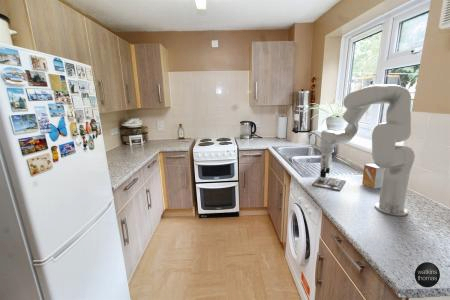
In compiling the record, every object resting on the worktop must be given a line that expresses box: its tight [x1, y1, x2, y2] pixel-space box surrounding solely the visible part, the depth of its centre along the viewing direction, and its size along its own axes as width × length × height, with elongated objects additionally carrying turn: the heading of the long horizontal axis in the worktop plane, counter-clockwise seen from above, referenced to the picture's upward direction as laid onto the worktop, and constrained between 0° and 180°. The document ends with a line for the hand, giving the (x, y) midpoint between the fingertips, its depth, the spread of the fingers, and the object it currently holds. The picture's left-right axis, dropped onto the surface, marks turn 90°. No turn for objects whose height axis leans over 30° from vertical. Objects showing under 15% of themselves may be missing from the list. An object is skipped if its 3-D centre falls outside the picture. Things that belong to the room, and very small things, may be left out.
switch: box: [330, 176, 338, 187], centre depth 131 cm, size 3×3×5 cm
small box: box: [362, 163, 385, 190], centre depth 131 cm, size 8×6×13 cm
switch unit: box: [311, 175, 346, 192], centre depth 137 cm, size 18×16×2 cm
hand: (324, 174), depth 141 cm, fingers open, 9 cm apart
